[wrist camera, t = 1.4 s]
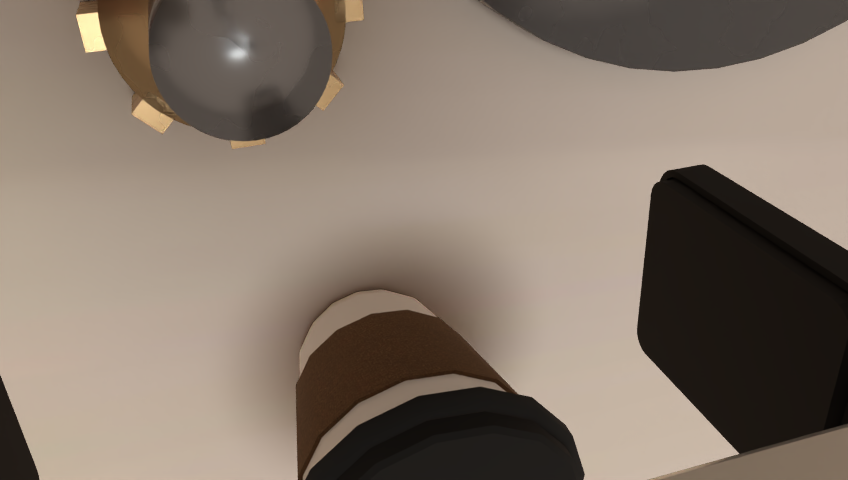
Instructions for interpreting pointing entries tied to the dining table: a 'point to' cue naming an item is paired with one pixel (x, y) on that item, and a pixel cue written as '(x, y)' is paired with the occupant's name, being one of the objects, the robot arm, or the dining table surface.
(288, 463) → the dining table surface
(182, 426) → the dining table surface
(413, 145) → the dining table surface
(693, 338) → the robot arm
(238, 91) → the gear
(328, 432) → the coffee cup
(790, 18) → the carrier plate
